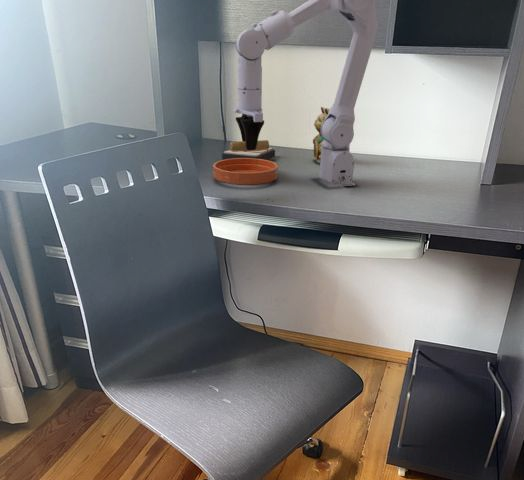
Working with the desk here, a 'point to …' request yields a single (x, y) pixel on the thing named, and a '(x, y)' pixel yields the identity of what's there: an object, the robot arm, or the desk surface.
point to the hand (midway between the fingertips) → (249, 148)
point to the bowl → (245, 171)
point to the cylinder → (242, 147)
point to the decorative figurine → (319, 139)
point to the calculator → (249, 154)
